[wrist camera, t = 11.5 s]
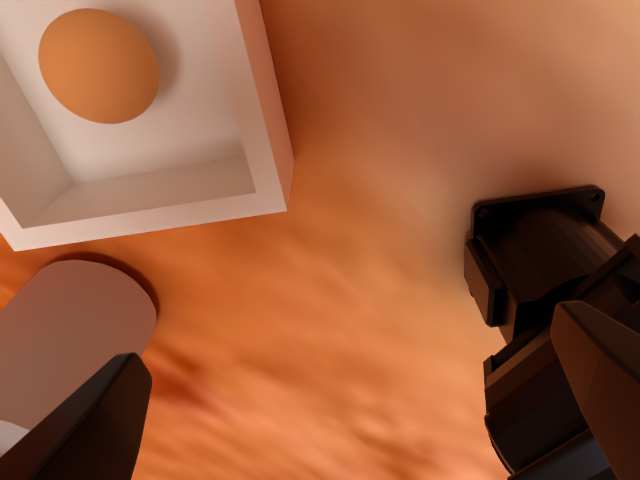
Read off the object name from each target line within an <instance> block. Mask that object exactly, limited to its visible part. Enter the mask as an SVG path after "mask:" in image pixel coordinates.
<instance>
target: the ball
mask: <svg viewBox="0 0 640 480" xmlns="http://www.w3.org/2000/svg"><path fill="white" fill-rule="evenodd" d="M38 61H39V67H40V71H41V74H42V77H43V79H44V81H45V84H46V85H47V87H48V89H49V90H50V92H51V93H52V94H53V96H54V97H55V98H56V99H57V100H58V101H59V102H60V103H61V104H62V105H63V106H64V107H65V108H67V109H68V110H69V111H71V112H72V113H74V114H75V115H77V116H79V117H81V118H84V119H86V120H89V121H93V122H96V123H102V124H118V123H123V122H127V121H130V120H132V119H134V118H136V117H138V116H139V115H141V114H142V113H143V112H145V111H146V110H147V109H148V107H149V106H150V105H151V104H152V102H153V100H154V98H155V96H156V93H157V91H158V86H159V68H158V63H157V59H156V56H155V54H154V52H153V49H152V48H151V46H150V44H149V43H148V41H147V40H146V38H145V37H144V36H143V35H142V34H141V32H140V31H139V30H138V29H137V28H135V27H134V26H133V25H132V24H130V23H129V22H128V21H126V20H125V19H123V18H121V17H120V16H118V15H115V14H113V13H110V12H107V11H104V10H100V9H93V8H82V9H75V10H72V11H69V12H66V13H64V14H62V15H60V16H58V17H57V18H56V19H55V20H53V21H52V22H51V23H50V24H49V25H48V27H47V28H46V30H45V31H44V33H43V35H42V37H41V40H40V44H39V50H38Z"/></svg>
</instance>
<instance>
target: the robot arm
mask: <svg viewBox="0 0 640 480" xmlns="http://www.w3.org/2000/svg"><path fill="white" fill-rule="evenodd" d="M595 193H596V194H595ZM593 194H595V196H594V197H592V198H590V196H591V195H593ZM589 198H590V199H589ZM604 199H605V192H604V191H603V190H602V189H601V188H599V187H598V186H586V187H579V188H572V189H565V190H558V191H551V192H544V193H538V194H531V195H524V196H517V197H510V198H503V199H496V200H489V201H482V202H479V203H477V204H475V205H474V207H473V208H472V216H471V239H468V240H467V242H466V243H465V264H464V277H465V279H466V282H467V284H468V286H469V292H470V294H471V296H472V297H474V299H475V301H476V304H477V306H478V308H479V310H480V312H481V315H482V317H483V319H484V321H485V323H486V324H487V325H488V326H489V327H499V329H500V331H501V333H502V336H503V338H504V340H505V342H506V344H507V345H506V346H505V347H504V348H503V349H501V350H500V351H499V352H498V353H497V354H496V355H491V356H490V357H489V358H487V359H486V360H485V361H484V362H483V366H484V383H485V390H484V391H485V399H486V415H485V417H484V421H485V426H486V429H487V431H488V434H489V437H490V440H491V443H492V446H493V448H494V450H495V452H496V454H497V456H498V457H499V459H500V461H501V462H502V464H503V465H504V467H505V468H506V470H507V471H508V472H509V473H510V474H511V476H509V477H508V478H507V480H640V235H638V234H636V233H635V234H634V235H632V236H631V237H630V238H629V239H628V240H627V241H625V242H624V241H623V240H622V239H620V238H619V237H618V236H617V235H616V234H615V233H614V232H613V231H612V230H611V229H609V228H608V227H607V226H606V225H605V224H604V223H603V222H602V221H601V220H599V219H600V215H601V211H602V207H603V203H604ZM483 209H486V211H485V212H484V213H482V214H479V212H480V211H481V210H483ZM151 388H152V377H151V374H150V372H149V371H148V369H147V367H146V366H145V364H144V363H143V361H142V359H141V358H140V356H139V355H138V354H137V353H135V352H129V353H120V354H117V355H115V356H114V357H113V358H111V359H110V360H109V361H108V362H107V363H106V364H105V365H104V366H102V367H101V368H100V369H99V370H98V371H97V372H96V373H95V374H93V375H92V376H91V377H90V378H89V379H88V380H87V381H86V382H84V383H83V384H82V385H81V386H80V387H79V388H78V389H77V390H75V391H74V392H73V393H72V394H71V395H70V396H69V397H68V398H66V399H65V400H64V401H63V402H62V403H61V404H60V405H59V406H58V407H56V408H55V409H54V410H53V411H52V412H51V413H50V414H49V415H47V416H46V417H45V418H44V419H43V420H42V421H41V422H40V423H38V424H37V425H36V426H35V427H34V428H33V429H32V430H31V431H29V432H28V433H27V434H26V435H25V436H24V437H23V438H22V439H20V440H19V441H18V442H17V443H16V444H15V445H14V446H13V447H11V448H10V449H9V450H8V451H7V452H6V453H5V454H3V455H2V456H1V457H0V480H131V477H132V474H133V471H134V467H135V464H136V460H137V456H138V453H139V449H140V444H141V440H142V434H143V429H144V424H145V419H146V414H147V409H148V404H149V398H150V393H151Z"/></svg>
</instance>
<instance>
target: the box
mask: <svg viewBox="0 0 640 480" xmlns="http://www.w3.org/2000/svg"><path fill="white" fill-rule="evenodd" d="M82 8H93V9H100V10H104V11H107V12H110V13H113V14H115V15H118V16H120V17H121V18H123V19H125V20H126V21H128V22H129V23H130V24H132V25H133V26H134V27H135V28H137V29H138V30H139V31H140V32H141V34H142V35H143V36H144V37H145V38H146V40H147V41H148V43H149V44H150V46H151V48H152V49H153V52H154V54H155V56H156V59H157V63H158V68H159V86H158V91H157V93H156V96H155V98H154V100H153V102H152V104H151V105H150V106H149V107H148V109H147V110H146V111H145V112H143V113H142V114H141V115H139V116H138V117H136V118H134V119H132V120H130V121H127V122H123V123H118V124H102V123H96V122H93V121H89V120H86V119H84V118H81V117H79V116H77V115H75V114H74V113H72V112H71V111H69V110H68V109H67V108H65V107H64V106H63V105H62V104H61V103H60V102H59V101H58V100H57V99H56V98H55V97H54V96H53V94H52V93H51V92H50V90H49V89H48V87H47V85H46V84H45V81H44V79H43V77H42V74H41V71H40V67H39V61H38V50H39V44H40V40H41V37H42V35H43V33H44V31H45V30H46V28H47V27H48V25H49V24H50V23H51V22H52V21H53V20H55V19H56V18H57V17H58V16H60V15H62V14H64V13H66V12H69V11H72V10H75V9H82ZM294 164H295V160H294V155H293V151H292V146H291V142H290V137H289V133H288V128H287V124H286V119H285V115H284V110H283V106H282V102H281V97H280V93H279V88H278V84H277V79H276V75H275V70H274V66H273V61H272V57H271V52H270V48H269V43H268V39H267V34H266V30H265V25H264V21H263V16H262V12H261V7H260V3H259V0H0V232H1V234H2V235H3V236H4V238H5V239H6V240H7V242H8V243H9V245H10V246H11V247H12V249H13V250H14V251H22V250H29V249H35V248H42V247H49V246H56V245H62V244H69V243H76V242H83V241H89V240H96V239H103V238H110V237H116V236H123V235H130V234H136V233H143V232H150V231H157V230H163V229H170V228H177V227H184V226H190V225H197V224H204V223H211V222H217V221H224V220H231V219H238V218H244V217H251V216H258V215H264V214H271V213H278V212H285V211H287V209H288V203H289V196H290V190H291V183H292V177H293V171H294Z"/></svg>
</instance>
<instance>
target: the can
mask: <svg viewBox="0 0 640 480" xmlns="http://www.w3.org/2000/svg"><path fill="white" fill-rule="evenodd" d="M156 323H157V320H156V309H155V307H154V305H153V303H152V301H151V299H150V297H149V295H148V294H147V293H146V292H145V291H144V290H143V289H142V288H141V286H140V285H139V284H138V283H137V282H136V281H135V280H134V279H133V278H132V277H130V276H128V275H127V274H125V273H124V272H122V271H121V270H119V269H116V268H114V267H111V266H108V265H106V264H103V263H97V262H90V261H83V260H75V259H74V260H66V261H57V262H54V263H52V264H50V265H48V266H46V267H43V268H41V269H40V270H39V271H38V272H37V273H36V274H35V275H34V276H33V277H32V278H31V280H30V281H29V282H28V283H27V284H26V285H25V286H24V287H23V288H22V289H21V290H20V291H19V292H18V293H17V294H16V295H15V296H14V297H13V298H12V300H11V301H10V302H9V303H8V304H7V305H6V306H5V307H4V308H3V309H2V310H1V311H0V457H1V456H2V455H3V454H5V453H6V452H7V451H8V450H9V449H10V448H11V447H13V446H14V445H15V444H16V443H17V442H18V441H19V440H20V439H22V438H23V437H24V436H25V435H26V434H27V433H28V432H29V431H31V430H32V429H33V428H34V427H35V426H36V425H37V424H38V423H40V422H41V421H42V420H43V419H44V418H45V417H46V416H47V415H49V414H50V413H51V412H52V411H53V410H54V409H55V408H56V407H58V406H59V405H60V404H61V403H62V402H63V401H64V400H65V399H66V398H68V397H69V396H70V395H71V394H72V393H73V392H74V391H75V390H77V389H78V388H79V387H80V386H81V385H82V384H83V383H84V382H86V381H87V380H88V379H89V378H90V377H91V376H92V375H93V374H95V373H96V372H97V371H98V370H99V369H100V368H101V367H102V366H104V365H105V364H106V363H107V362H108V361H109V360H110V359H111V358H113V357H114V356H115V355H117V354H120V353H129V352H135V353H137V354H138V355H139V356H140V358H141V356H142V354H143V352H144V350H145V348H146V346H147V344H148V341H149V339H150V337H151V335H152V333H153V330H154V328H155V326H156Z"/></svg>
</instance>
